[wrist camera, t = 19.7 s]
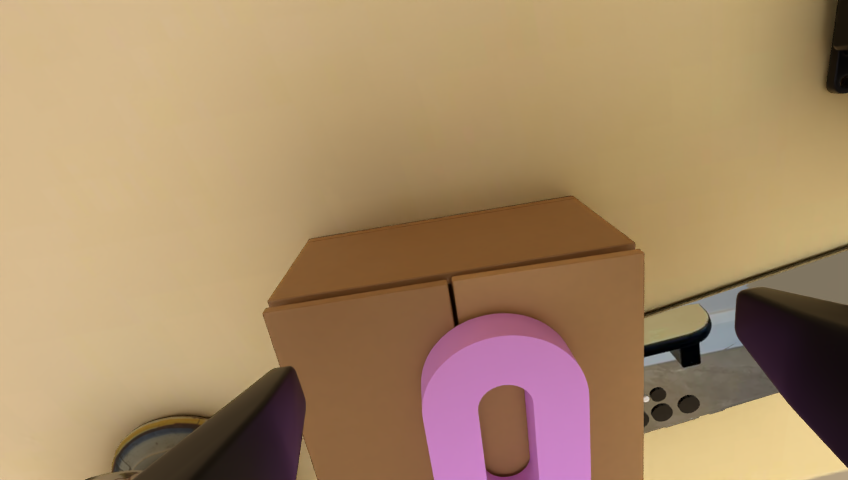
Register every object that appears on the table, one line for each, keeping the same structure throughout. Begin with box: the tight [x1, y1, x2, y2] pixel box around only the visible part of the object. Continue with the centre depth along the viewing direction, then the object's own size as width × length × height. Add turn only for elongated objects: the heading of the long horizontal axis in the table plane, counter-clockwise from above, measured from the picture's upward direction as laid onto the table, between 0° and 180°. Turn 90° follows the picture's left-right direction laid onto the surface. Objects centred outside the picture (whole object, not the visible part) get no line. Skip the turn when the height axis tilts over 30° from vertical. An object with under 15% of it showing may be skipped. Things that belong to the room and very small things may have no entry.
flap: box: [451, 249, 644, 480], centre depth 17 cm, size 6×16×1 cm, turn 10°
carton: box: [263, 196, 635, 480], centre depth 21 cm, size 13×16×7 cm
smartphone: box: [644, 247, 848, 433], centre depth 24 cm, size 8×1×16 cm
